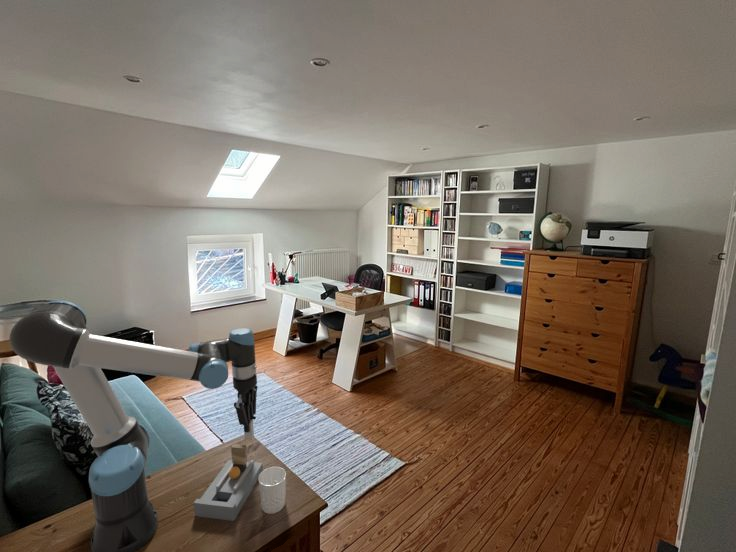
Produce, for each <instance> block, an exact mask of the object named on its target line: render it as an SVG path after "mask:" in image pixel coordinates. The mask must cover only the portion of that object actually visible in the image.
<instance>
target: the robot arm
mask: <svg viewBox="0 0 736 552" xmlns="http://www.w3.org/2000/svg"><path fill="white" fill-rule="evenodd" d="M87 320H88V319H87V315H86V313H85V311H84V310H83V309H82V307H80V306H79V305H77V304H76V303H73V302H70V301H67V300H51V301H48V302H45V303H42V304H40V305H38V306H35V308H33V309H32V310H31V311H30V312H29V313H28V314H26V315H25V316H23V317H22V318H20V319H19V320H18V321H17V322H16V323H15V324H14V325H13V326H12V329H11V330H10V333H9V339H8V340H9V345H10V348H11V349H12V350H13V352H14V353H15V354H16V355H17V356H18V357H20V358H21V359H24V360H26V361H29V362H31V363H35V364H38V365H43V366H48V367H53V369H54V371H55V373H56V374H57V375H58V377H59V379H60V381H61V382H62V384H63V386H64V388H65V390H66V391H67V393H68V394H69V396H70V398H71V399H72V402H73V403H74V404H75V406H76V408H77V410H78V411H79V413H80V414H81V417H82V418H83V420H84V422H85V424H87V426H88V428H89V429H90V432H91V433H92V438H91V441H90V445H91V447H92V449H93V451H94V452H95V454H96V456H97V457H96V458H95V459H94V460H93V462H92V463H91V465H90V467H89V470H88V471H89V472H88V484H89V488H90V493H91V499H92V503H93V511H94V516H95V523H94V527H93V531H92V535H91V538H90V548H91V552H136V551H138V550H139V549H140V548H142V547H143V546H144V545H146V544H147V543H148V542H149V541H150V539H151V538H152V537H154V534H155V533H156V531H157V529H158V526H159V518H158V512H157V510H156V509H155V508H154V506H153V504H152V503H151V501H150V500H149V497H148V489H147V482H146V471H147V470H146V469H147V459H148V451H149V448H150V435H149V432H148V429H147V428H146V427H145V426H144V424H143V423H140V422H138V421H137V419H136V418H135V417H134V416H129V415H127V413H126V412H125V410H124V408H123V406H122V405H121V403H120V401H119V398H118V397H117V395H116V394H115V392H114V390H113V388H112V386H111V385H110V383H109V380H108V379H107V377H106V375H105V373H104V372H103V370H102V369H105V370H111V371H118V372H119V371H120V372H126V373H127V372H128V373H132V374H133V373H135V374H142V375H149V376H156V377H157V376H158V377H166V378H172V379H178V380H179V379H180V380H187V381H194V382H199V383H200V385H202V386H203V387H204V388H206V389H208V390H209V389H210V390H215V389H218V388H221V387H222V386H223V385H224V384H225V383H226V382H227V381H228V378H229V366H228V365H229V364H228V363H229V362H230V363H231V373H232V375H231V376H232V384H233V386H232V387H233V389H234V390H236V391H237V401H236V402H234V403H233V407H234V409H235V412H236V416H237V420H238V423H239V425H241V426H243V433H244V434H243V435H244V440H250V441H251V440H254V438H255V434H254V433H255V431H254V430H255V429H254V420H256V417H257V416H254V415H256V414H257V413H256V412H257V391H258V385H257V384H258V378H257V377H258V376H257V366H258V365H257V364H256V347H255V344H256V343H255V337H254V331H252V329H250V328H245V327H243V328H236V329H233V330H230V332H229V334H228V337H226V338H221V339H215V340H209V341H200V342H196V343H192V344H190V345H189V346H188V350H184V349H180V348H179V349H178V348H174V347H173V348H172V347H168V346H162V345H155V344H151V343H145V342H138V341H133V340H128V339H127V340H126V339H122V338H115V337H109V336H104V335H99V334H92V333H90V331H89V330H88V328H87V326H86V325H87Z"/></svg>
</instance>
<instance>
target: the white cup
mask: <svg viewBox="0 0 736 552" xmlns="http://www.w3.org/2000/svg"><path fill="white" fill-rule="evenodd" d="M286 480H287V473H286V470H285V469H284V468H282V467H280V466H270V467H267V468H265V469H263V471H262V472H261V473H260V475H259V477H258V480H257V481H258V488H259V489H258V490H259V496H260V503H261V509H262V511H263V512H264V513H266V514H267V515H268V514H269V515H270V514H271V515H272V514H276V513H279V512H280V511H281V510H282V509H284V508H285V507H284V506H285V505H286V494H287V493H286V491H287V490H286V489H287V485H286V484H287V481H286Z"/></svg>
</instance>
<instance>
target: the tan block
mask: <svg viewBox="0 0 736 552" xmlns="http://www.w3.org/2000/svg"><path fill="white" fill-rule="evenodd" d="M230 449H231V451H230V452H231V460H232V463H233V467H238V468H239V469H240V472H244V471H245V469H246V468H247V466H246V463H247V462H248V452H247V451H248V449H247V445H246V444H237V443H233V444H232V446H231V448H230Z"/></svg>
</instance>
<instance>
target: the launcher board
mask: <svg viewBox="0 0 736 552" xmlns="http://www.w3.org/2000/svg"><path fill="white" fill-rule="evenodd" d="M246 466H247V468H246V469H245V471H244V472H240V475H239V477H238V478H236V479H231V478H230V477H229V471H230V469H231V468H232V467H233V463H232V459H228V461H226V463H225V464H224V466H223V467H222V469H221V470H220V471H219V472H218V474H217V475H216V477H215V478H214V479H213V481H212V482H211V483H210V485H209V487H207V489H206V490H205V492H204V493H203V494H202V496H201V497H200V498H196V499H195V500H194V501H193V508H194V509H193V511H194V517H199V518H207V519H215V520H222V521H223V520H224V521H229V522H230V521H232V522H235V520H236V518H237V517H238V515H239V513H240V511H241V510H242V508H243V506H244V504H245V503H246V501H247V499H248V498H249V496H250V494H251V492H252V490H253V489H254V487H255V486H256V483H257V482H258V481H259V480H258V477H259V475H260V473H261V472H262V471H263V470H264V467H263V463H262V462H257V461H256V462H255V460H254V459H251V460H250V461H247V463H246Z"/></svg>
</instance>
